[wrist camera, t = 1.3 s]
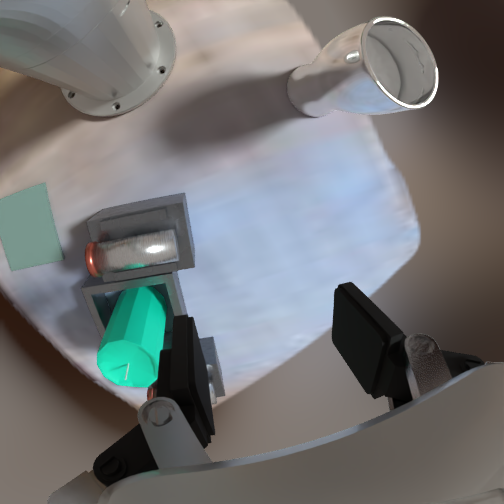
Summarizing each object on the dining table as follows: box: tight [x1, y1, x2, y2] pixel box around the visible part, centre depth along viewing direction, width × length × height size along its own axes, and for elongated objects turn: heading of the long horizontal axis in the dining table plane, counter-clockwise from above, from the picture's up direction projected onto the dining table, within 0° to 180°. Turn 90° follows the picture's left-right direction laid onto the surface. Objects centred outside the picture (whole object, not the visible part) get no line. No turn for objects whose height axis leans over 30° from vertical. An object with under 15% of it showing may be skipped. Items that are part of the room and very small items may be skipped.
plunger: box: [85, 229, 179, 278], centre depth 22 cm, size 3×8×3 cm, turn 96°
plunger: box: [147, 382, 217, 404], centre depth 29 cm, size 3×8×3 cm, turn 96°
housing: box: [81, 193, 225, 397], centre depth 29 cm, size 24×13×6 cm, turn 6°
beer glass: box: [287, 16, 438, 117], centre depth 19 cm, size 7×7×15 cm
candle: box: [97, 286, 167, 388], centre depth 26 cm, size 6×6×12 cm
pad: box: [0, 183, 64, 271], centre depth 25 cm, size 9×9×1 cm
